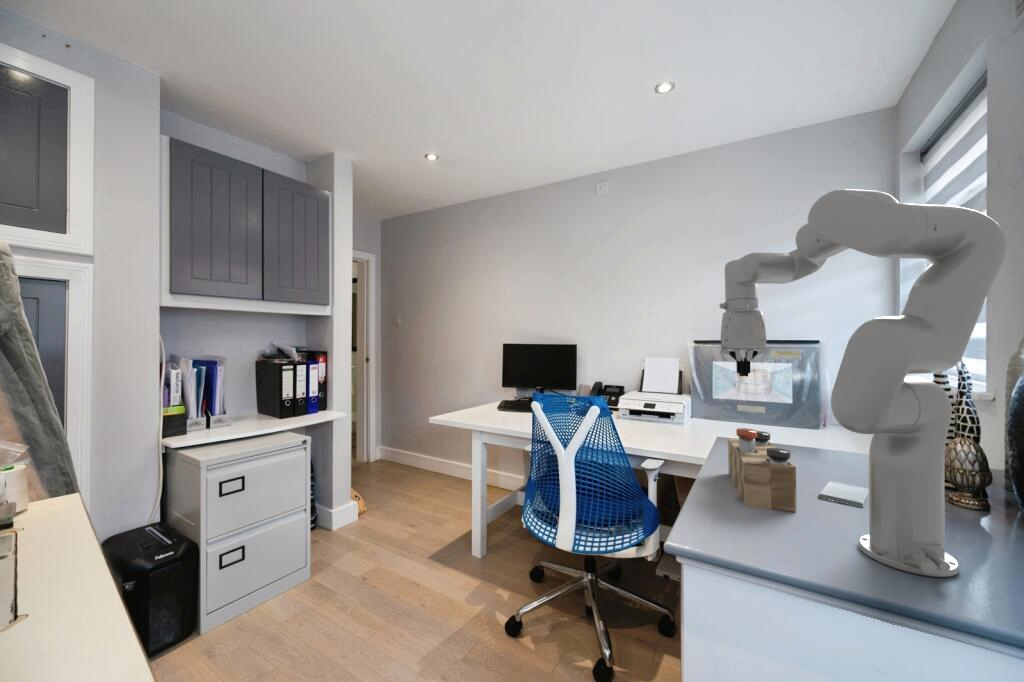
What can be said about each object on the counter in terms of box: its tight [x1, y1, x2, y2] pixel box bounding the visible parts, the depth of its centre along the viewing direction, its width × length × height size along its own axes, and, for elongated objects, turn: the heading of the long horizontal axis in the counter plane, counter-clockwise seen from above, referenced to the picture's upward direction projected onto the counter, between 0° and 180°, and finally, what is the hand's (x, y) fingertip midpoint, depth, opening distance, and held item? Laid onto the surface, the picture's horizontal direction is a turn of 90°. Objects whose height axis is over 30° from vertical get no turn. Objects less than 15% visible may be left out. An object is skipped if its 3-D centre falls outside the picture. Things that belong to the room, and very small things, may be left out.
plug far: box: [755, 430, 771, 445], centre depth 112 cm, size 5×5×12 cm
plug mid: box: [735, 427, 758, 453], centre depth 105 cm, size 5×5×12 cm
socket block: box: [727, 438, 797, 513], centre depth 104 cm, size 24×10×10 cm, turn 160°
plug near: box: [767, 447, 791, 465], centre depth 95 cm, size 5×5×12 cm
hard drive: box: [818, 480, 869, 508], centre depth 100 cm, size 2×8×12 cm
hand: (743, 375), depth 109 cm, fingers closed
